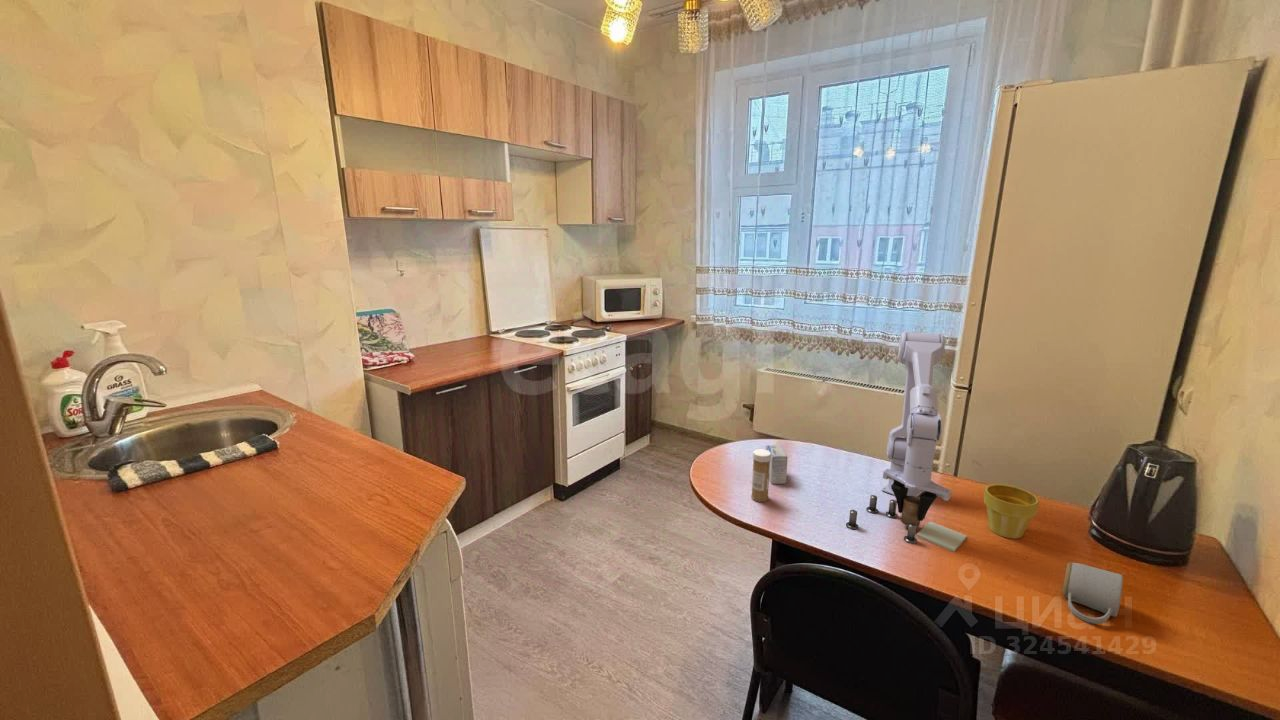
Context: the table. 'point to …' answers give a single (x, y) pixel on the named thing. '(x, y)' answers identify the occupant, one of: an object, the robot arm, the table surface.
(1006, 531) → the plant pot
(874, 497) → the slalom posts
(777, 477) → the medicine box
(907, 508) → the walnut peg
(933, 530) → the pad
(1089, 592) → the ceramic mug
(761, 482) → the sprinkles bottle
